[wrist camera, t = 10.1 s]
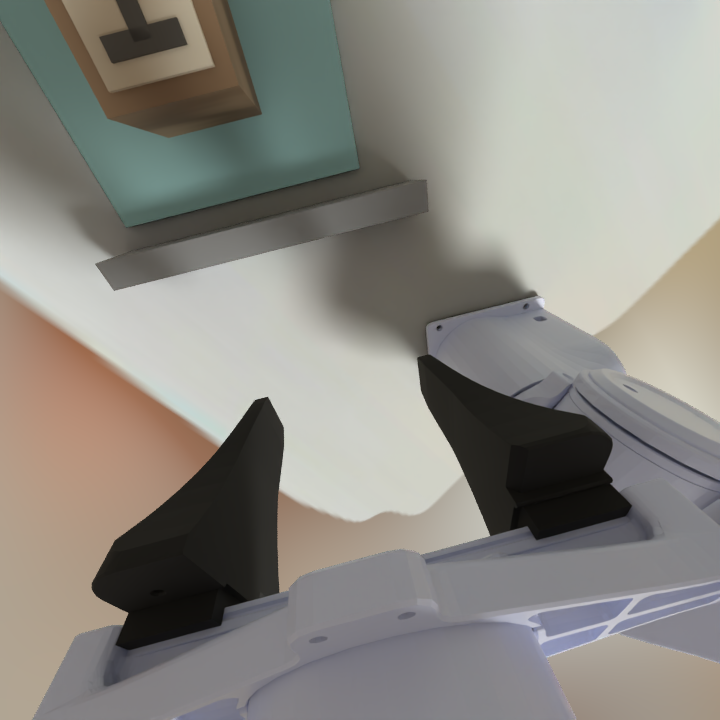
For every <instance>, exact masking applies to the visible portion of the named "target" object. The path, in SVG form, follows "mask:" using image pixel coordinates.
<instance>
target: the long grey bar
mask: <svg viewBox="0 0 720 720" xmlns="http://www.w3.org/2000/svg"><path fill="white" fill-rule="evenodd" d="M424 212H428V197H427V183H426V180H414V181H407V182H403V183H400V184H396V185H392V186H388V187H384V188H380V189H376V190H372V191H368V192H364V193H360V194H356V195H352V196H348V197H344V198H340V199H336V200H332V201H329V202H325V203H321V204H317V205H313V206H309V207H305V208H301V209H297V210H293V211H289V212H285V213H281V214H277V215H273V216H269V217H265V218H261V219H257V220H254V221H250V222H246V223H242V224H238V225H234V226H230V227H226V228H222V229H218V230H214V231H210V232H206V233H202V234H198V235H194V236H190V237H186V238H183V239H179V240H175V241H171V242H167V243H163V244H159V245H155V246H151V247H147V248H143V249H139V250H135V251H131V252H127V253H125V254H122V255H119V256H116V257H113V258H110V259H107V260H104V261H102V262H99V263H96V264H95V265H96V266H97V267H98V269H99V270H100V272H101V273H102V274H103V276H104V277H105V279H106V280H107V281H108V283H109V284H110V286H111V287H112V289H113V290H114V291H115V290H119V289H123V288H127V287H131V286H135V285H139V284H143V283H147V282H151V281H155V280H159V279H163V278H167V277H171V276H175V275H179V274H183V273H187V272H191V271H194V270H198V269H202V268H206V267H210V266H214V265H218V264H222V263H226V262H230V261H234V260H238V259H242V258H246V257H250V256H254V255H258V254H262V253H266V252H270V251H274V250H278V249H282V248H286V247H290V246H294V245H298V244H302V243H306V242H309V241H313V240H317V239H321V238H325V237H329V236H333V235H337V234H341V233H345V232H349V231H353V230H357V229H361V228H365V227H369V226H373V225H377V224H381V223H385V222H389V221H393V220H397V219H401V218H405V217H409V216H413V215H417V214H420V213H424Z"/></svg>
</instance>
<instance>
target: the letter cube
mask: <svg viewBox="0 0 720 720" xmlns="http://www.w3.org/2000/svg"><path fill="white" fill-rule="evenodd" d="M44 1H45V3H46V5H47V7H48V9H49V11H50V13H51V14H52V16H53V18H54V20H55V22H56V24H57V26H58V27H59V29H60V31H61V33H62V35H63V37H64V39H65V41H66V42H67V44H68V46H69V48H70V50H71V52H72V54H73V55H74V57H75V59H76V61H77V63H78V65H79V67H80V68H81V70H82V72H83V74H84V76H85V78H86V80H87V81H88V83H89V85H90V87H91V89H92V91H93V93H94V95H95V96H96V98H97V100H98V102H99V104H100V106H101V108H102V109H103V111H104V113H105V115H106V117H107V119H110V120H113V121H116V122H119V123H122V124H126V125H129V126H132V127H135V128H138V129H142V130H145V131H148V132H151V133H154V134H158V135H161V136H164V137H167V138H171V137H175V136H179V135H183V134H187V133H190V132H194V131H198V130H202V129H206V128H210V127H214V126H218V125H222V124H226V123H230V122H234V121H238V120H242V119H245V118H249V117H253V116H257V115H261V114H262V112H261V109H260V105H259V102H258V99H257V96H256V92H255V89H254V86H253V82H252V79H251V76H250V73H249V69H248V66H247V63H246V59H245V56H244V53H243V50H242V46H241V43H240V40H239V36H238V33H237V30H236V27H235V23H234V20H233V17H232V13H231V10H230V7H229V4H228V0H44Z"/></svg>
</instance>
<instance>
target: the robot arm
mask: <svg viewBox="0 0 720 720" xmlns="http://www.w3.org/2000/svg"><path fill="white" fill-rule="evenodd" d="M544 302H545V300H544V298H542V297H540V296H535V297H531V298H527V299H523V300H519V301H515V302H511V303H507V304H503V305H499V306H495V307H491V308H487V309H483V310H479V311H475V312H471V313H467V314H463V315H458V316H454V317H450V318H446V319H442V320H438V321H434V322H431V323H429V324H428V325H427V326H426V336H427V346H428V355H425V356H422V357H418V358H417V360H418V368H419V377H420V385H421V392H422V394H423V396H424V399H425V401H426V403H427V406H428V408H429V410H430V412H431V413H432V415H433V417H434V418H435V420H436V422H437V423H438V425H439V427H440V429H441V430H442V432H443V434H444V435H445V437H446V439H447V440H448V442H449V444H450V445H451V447H452V449H453V451H454V453H455V455H456V457H457V459H458V461H459V463H460V466H461V468H462V470H463V472H464V474H465V477H466V479H467V481H468V483H469V486H470V488H471V490H472V492H473V495H474V497H475V499H476V502H477V504H478V507H479V509H480V511H481V514H482V516H483V519H484V521H485V523H486V526H487V528H488V531H489V533H490V536H489V537H486V538H482V539H478V540H474V541H471V542H467V543H463V544H460V545H456V546H452V547H449V548H445V549H441V550H438V551H434V552H430V553H426V554H423V555H420V554H419V553H417V552H416V551H412V550H406V549H399V550H392V551H386V552H382V553H379V554H375V555H372V556H367V557H364V558H360V559H356V560H353V561H349V562H345V563H341V564H338V565H334V566H331V567H327V568H323V569H319V570H316V571H312V572H310V573H308V574H305V575H303V576H301V577H299V578H298V579H297V580H296V581H295V582H294V583H293V584H292V585H291V586H290V588H289V591H285V592H281V593H279V579H278V552H277V551H278V550H277V508H278V491H279V483H280V475H281V467H282V459H283V450H284V427H283V425H282V423H281V421H280V419H279V417H278V415H277V413H276V411H275V409H274V408H273V406H272V404H271V402H270V400H269V398H268V397H265V398H261V399H257V400H255V401H254V402H253V404H252V405H251V406H250V408H249V409H248V410H247V412H246V413H245V415H244V416H243V418H242V419H241V420H240V422H239V423H238V424H237V426H236V427H235V429H234V430H233V431H232V433H231V434H230V435H229V437H228V438H227V439H226V440H225V442H224V443H223V444H222V445H221V447H220V448H219V449H218V450H217V452H216V453H215V454H214V455H213V456H212V457H211V459H210V460H209V461H208V462H207V463H206V464H205V465H204V466H203V467H202V468H201V469H200V470H199V471H198V472H197V473H196V474H195V475H194V476H193V477H192V478H191V479H190V480H189V481H188V482H187V483H186V484H185V485H184V486H183V487H182V488H181V489H180V490H179V491H177V492H176V493H175V494H174V495H173V496H172V497H171V498H169V499H168V500H167V501H166V502H165V503H164V504H163V505H161V506H160V507H159V508H158V509H156V510H155V511H154V512H153V513H151V514H150V515H149V516H148V517H146V518H145V519H144V520H142V521H141V522H140V523H138V524H137V525H136V526H134V527H133V528H131V529H130V530H129V531H128V532H126V533H125V534H123V535H122V536H121V537H119V538H118V539H116V540H115V541H114V543H113V545H112V547H111V549H110V551H109V552H108V554H107V556H106V558H105V560H104V562H103V564H102V565H101V567H100V569H99V571H98V573H97V575H96V577H95V578H94V580H93V582H92V590H93V592H94V593H95V595H96V596H97V597H98V598H100V599H102V600H103V601H105V602H107V603H109V604H111V605H113V606H115V607H118V608H120V609H122V610H124V611H126V612H128V616H127V618H126V621H125V623H124V625H112V626H107V627H104V628H99V629H96V630H92V631H88V632H85V633H81V634H79V635H77V636H76V637H75V638H74V640H73V642H72V644H71V646H70V648H69V650H68V652H67V654H66V656H65V658H64V660H63V661H62V663H61V666H60V667H59V669H58V671H57V673H56V675H55V677H54V679H53V681H52V683H51V685H50V687H49V689H48V690H47V692H46V694H45V696H44V698H43V700H42V702H41V704H40V706H39V708H38V710H37V712H36V714H35V716H34V718H33V720H577V719H576V717H575V715H574V712H573V710H572V709H571V707H570V704H569V702H568V700H567V699H566V697H565V694H564V692H563V690H562V688H561V686H560V684H559V682H558V680H557V678H556V676H555V674H554V672H553V670H552V668H551V666H550V664H549V662H548V660H547V657H550V656H553V655H556V654H559V653H562V652H564V651H568V650H571V649H573V648H576V647H579V646H582V645H585V644H588V643H591V642H594V641H597V640H600V639H603V638H606V637H608V636H611V635H614V634H617V633H618V634H621V635H623V636H626V637H630V638H633V639H637V640H640V641H643V642H646V643H650V644H654V645H657V646H661V647H665V648H668V649H672V650H676V651H680V652H683V653H687V654H691V655H694V656H698V657H701V658H704V659H707V660H711V661H714V662H717V663H719V664H720V423H719V422H718V421H716V420H715V419H713V418H711V417H710V416H708V415H706V414H705V413H703V412H701V411H699V410H698V409H696V408H694V407H693V406H691V405H689V404H687V403H685V402H683V401H681V400H680V399H678V398H676V397H674V396H672V395H670V394H668V393H666V392H664V391H662V390H660V389H658V388H656V387H654V386H652V385H650V384H647V383H645V382H643V381H641V380H638V379H636V378H634V377H631V376H629V375H627V374H626V371H625V369H624V367H623V365H622V363H621V361H620V360H619V359H618V357H617V356H616V354H615V353H614V352H613V351H612V350H611V349H610V348H609V347H608V346H607V345H606V344H605V343H603V342H602V341H600V340H599V339H597V338H595V337H593V336H592V335H590V334H588V333H586V332H584V331H583V330H581V329H579V328H577V327H575V326H573V325H572V324H570V323H568V322H566V321H564V320H563V319H561V318H559V317H557V316H555V315H554V314H552V313H550V312H548V311H546V310H544ZM525 304H526V306H525V307H524V308H523V306H524V305H525ZM439 325H441V327H440V328H439V329H436V328H437V326H439Z"/></svg>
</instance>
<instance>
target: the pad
mask: <svg viewBox="0 0 720 720" xmlns="http://www.w3.org/2000/svg"><path fill="white" fill-rule="evenodd" d="M228 4H229V7H230V10H231V13H232V17H233V20H234V23H235V27H236V30H237V33H238V36H239V40H240V43H241V46H242V50H243V53H244V56H245V59H246V63H247V66H248V69H249V73H250V76H251V79H252V82H253V86H254V89H255V92H256V96H257V99H258V102H259V105H260V109H261V112H262V114H261V115H257V116H253V117H249V118H245V119H242V120H238V121H234V122H230V123H226V124H222V125H218V126H214V127H210V128H206V129H202V130H198V131H194V132H190V133H187V134H183V135H179V136H175V137H171V138H167V137H164V136H161V135H158V134H154V133H151V132H148V131H145V130H142V129H138V128H135V127H132V126H129V125H126V124H122V123H119V122H116V121H113V120H110V119H107V117H106V115H105V113H104V111H103V109H102V108H101V106H100V104H99V102H98V100H97V98H96V96H95V95H94V93H93V91H92V89H91V87H90V85H89V83H88V81H87V80H86V78H85V76H84V74H83V72H82V70H81V68H80V67H79V65H78V63H77V61H76V59H75V57H74V55H73V54H72V52H71V50H70V48H69V46H68V44H67V42H66V41H65V39H64V37H63V35H62V33H61V31H60V29H59V27H58V26H57V24H56V22H55V20H54V18H53V16H52V14H51V13H50V11H49V9H48V7H47V5H46V3H45V1H44V0H0V21H1V23H2V25H3V26H4V28H5V30H6V31H7V33H8V34H9V36H10V38H11V39H12V41H13V43H14V44H15V46H16V48H17V49H18V51H19V53H20V54H21V56H22V57H23V59H24V61H25V62H26V64H27V66H28V67H29V69H30V71H31V72H32V74H33V75H34V77H35V79H36V80H37V82H38V84H39V85H40V87H41V89H42V90H43V92H44V94H45V95H46V97H47V98H48V100H49V102H50V103H51V105H52V107H53V108H54V110H55V112H56V113H57V115H58V117H59V118H60V120H61V121H62V123H63V125H64V126H65V128H66V130H67V131H68V133H69V135H70V136H71V138H72V140H73V141H74V143H75V144H76V146H77V148H78V149H79V151H80V153H81V154H82V156H83V158H84V159H85V161H86V162H87V164H88V166H89V167H90V169H91V171H92V172H93V174H94V176H95V177H96V179H97V181H98V182H99V184H100V185H101V187H102V189H103V190H104V192H105V194H106V195H107V197H108V199H109V200H110V202H111V204H112V205H113V207H114V208H115V210H116V212H117V213H118V215H119V217H120V218H121V220H122V222H123V223H124V225H125V227H126V228H127V227H131V226H135V225H139V224H143V223H147V222H151V221H155V220H159V219H163V218H167V217H171V216H175V215H179V214H182V213H186V212H190V211H194V210H198V209H202V208H206V207H210V206H214V205H218V204H222V203H226V202H230V201H234V200H238V199H241V198H245V197H249V196H253V195H257V194H261V193H265V192H269V191H273V190H277V189H281V188H285V187H289V186H293V185H296V184H300V183H304V182H308V181H312V180H316V179H320V178H324V177H328V176H332V175H336V174H340V173H344V172H348V171H352V170H355V169H359V162H358V156H357V151H356V145H355V139H354V134H353V128H352V122H351V117H350V111H349V105H348V100H347V94H346V88H345V83H344V77H343V71H342V66H341V60H340V54H339V49H338V43H337V37H336V32H335V26H334V20H333V15H332V9H331V3H330V0H228Z"/></svg>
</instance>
